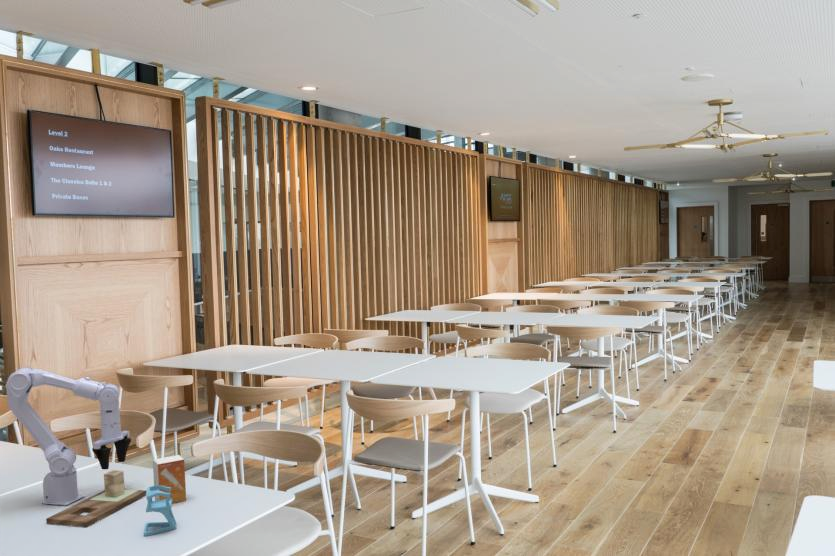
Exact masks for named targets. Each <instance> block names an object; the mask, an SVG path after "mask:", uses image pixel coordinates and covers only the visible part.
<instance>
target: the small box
mask: <svg viewBox="0 0 835 556" xmlns="http://www.w3.org/2000/svg"><path fill="white" fill-rule="evenodd" d="M152 469H153V471H152V472H153V486H155V485H162V486H165V487H171V490H170V493H171V494H170V499H172V504H177V503H180V502H186V501H187V492H186V491H187V490H186V489H187V488H186V470H185V469H186V468H185V458H183V457H182V456H181V455H180V454H175V455H171V456H166V457H161V458H160V457H159V458H156V459H152ZM157 490H159V491H163V492H165V493H167V492H168V491H166V490H164V489H157ZM166 498H167V497H165V496H155V497H154V501H158V500H165V499H166Z"/></svg>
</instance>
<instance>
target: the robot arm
mask: <svg viewBox="0 0 835 556" xmlns="http://www.w3.org/2000/svg"><path fill="white" fill-rule="evenodd" d="M44 385H46V386H50V387H55V388H60V389H64V390H69V391H72V392H73V394H74V396H76V397H79V398H84V399H87V400H91V401H95V402H96V401H98V402H99V404H100V410H99V414H100V415H99V416H100V428H101V429H100V432H101V437H100V438H99V439H98V440H96V441H94V442H92V448H91V449H92V452H93V453H94V455H95V456H96V458H97V459H98V462H99V465H100V467H101V469H102V470H109V467H110V454H111V450H112V447H107V445H110V444H114V447H115V451H116V459H117V462H119V463H125V461H126V457H127V452H128V449H129V446H130V444H131V442H132V438H130V437H131V435H130V434H131V433H130V430H123V431H122V424H121V408H120V401H119V397H120V389H119V387H118V386H117V385H115V384H113V383H111V382H110V383H107V382H104V381H102V382H100V381H96V380H92V379H91V377H88V376H86V377H81V378H78V379H76V380H75V379H74V378H69V377H66V376H63V375H59V374H56V373H53V372H50V371H47V370H44V369H40V368H33V367H29V366H24V367H20V368H18V369H17V370H16V371H14V372H12V373H11V374H10V375H9V376H8V377H7V381H6V384H5V386H4V387H5V389H6V403H7V407H8V409H10V411H11V412H12V414H13V415H14V416H15V417H16V419H17V421H19V422H20V424H21V425H22V426H23V427H24V429H25V430H26V431H27V432H28V434H29V435H30V436H31V437H32V439H33V440H34V441H35V443H36V444H37V445H38V446H39V448H40V449H41V450H42V451H43V454H44V457H45V458H44V459H45V460H46V461H47V463H48V468H49V471H50V472H48V473H47V474H45V476H44V477H43V480H42V488H43V489H42V490H43V501H41V504H43V505H54V506H55V505H57V506H69V505H71V504H73V503H75V502H77V501H79V500H81V499H83V498H85V495H84V494H79V491H78V476H77V475H78V473H77V468H76V467H75V466H74V464H75V463H76V460H77V454H76V452H75V450H74V449H73V448H70V447H68V446H66V444H65V443H64V442H62V441H60V440H59V439H58V438H57V437H56V435H55V434H54V432H53V431H52V430H51V429H50V428H49V426H48V425H47V424H46V423H45V421H44V420H43V418H42V417H41V416H40V415H39V413H38V412H37V411H36V410H35V408H34V407H33V406H32V405H31V403H30V402H29V401H28V398H29V396H30V393H31V389H32V388H37V387H41V386H44Z"/></svg>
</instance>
